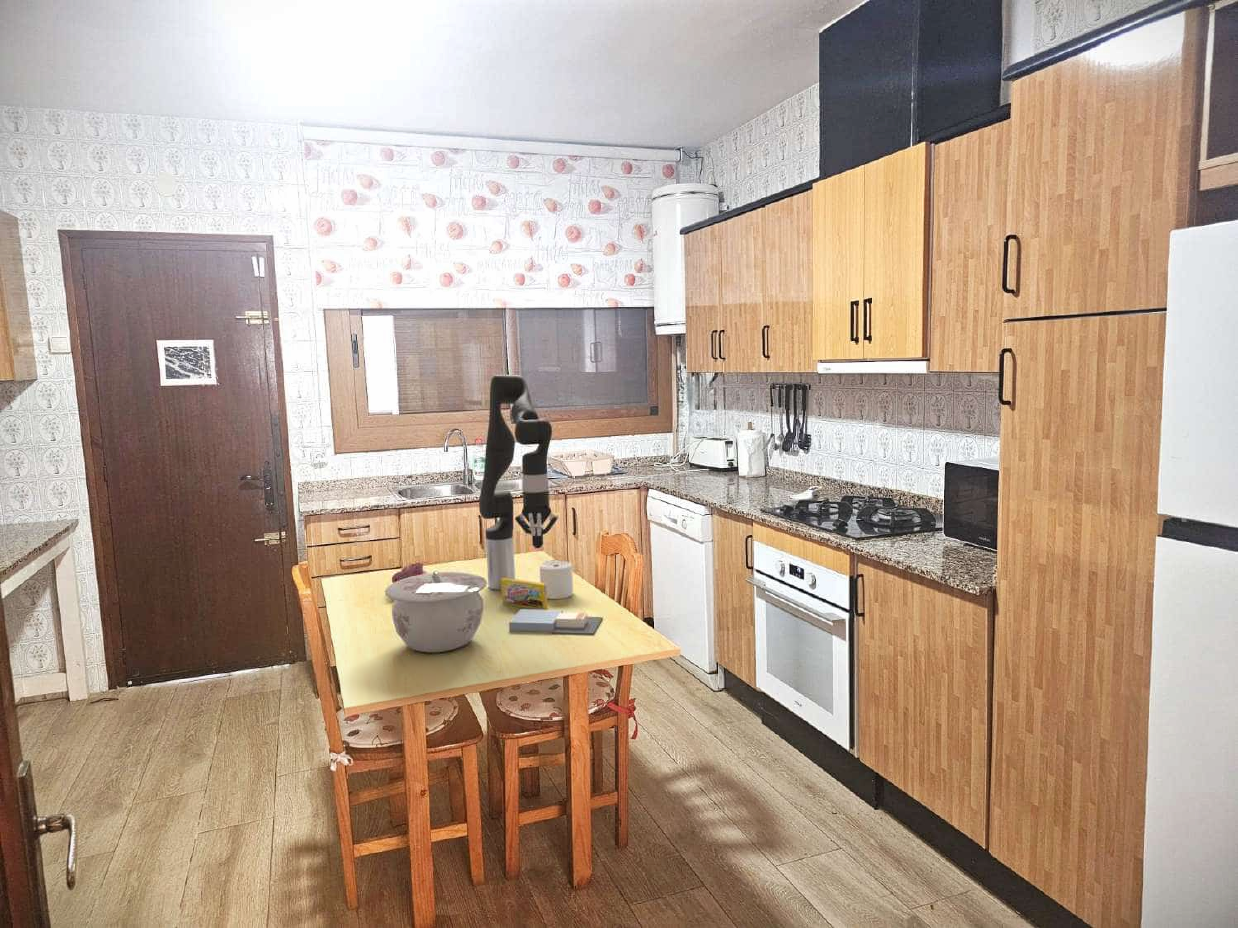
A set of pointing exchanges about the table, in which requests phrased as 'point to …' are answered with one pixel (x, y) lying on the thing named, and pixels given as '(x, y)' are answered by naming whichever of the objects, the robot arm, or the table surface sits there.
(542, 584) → the candy box
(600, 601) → the table surface
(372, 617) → the table surface
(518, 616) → the light blue flat block
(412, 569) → the flower
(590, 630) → the mat
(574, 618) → the striped white eraser
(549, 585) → the toilet tissue
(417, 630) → the chamber pot
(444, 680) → the table surface
